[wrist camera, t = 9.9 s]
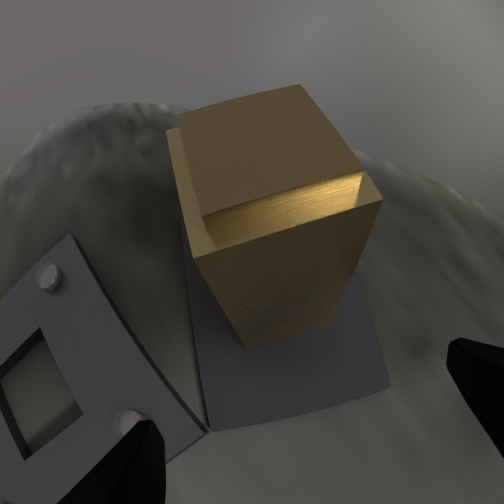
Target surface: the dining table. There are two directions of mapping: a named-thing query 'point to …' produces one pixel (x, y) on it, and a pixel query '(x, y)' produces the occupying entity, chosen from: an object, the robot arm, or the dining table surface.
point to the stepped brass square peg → (272, 209)
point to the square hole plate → (80, 377)
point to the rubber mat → (281, 359)
